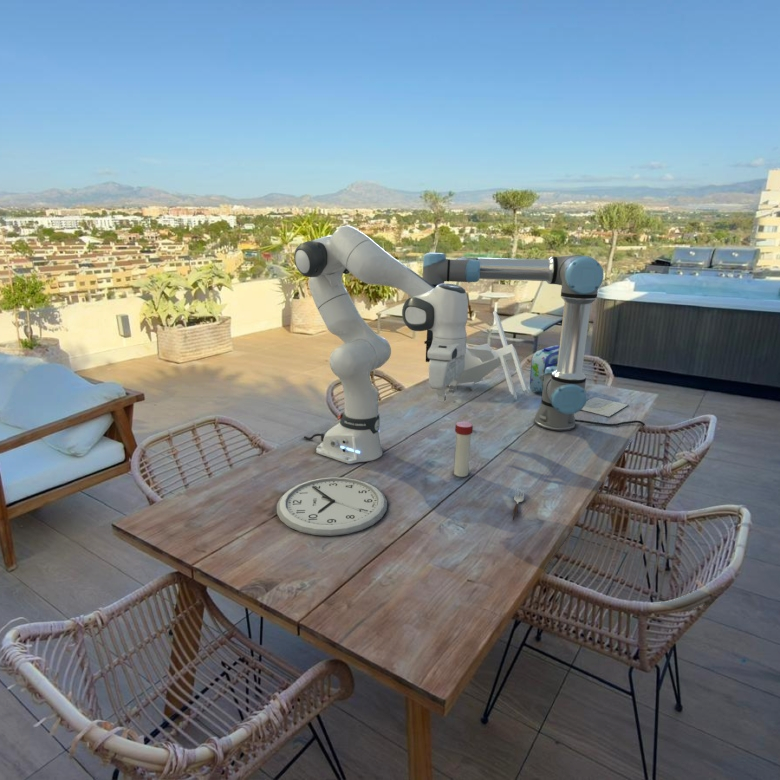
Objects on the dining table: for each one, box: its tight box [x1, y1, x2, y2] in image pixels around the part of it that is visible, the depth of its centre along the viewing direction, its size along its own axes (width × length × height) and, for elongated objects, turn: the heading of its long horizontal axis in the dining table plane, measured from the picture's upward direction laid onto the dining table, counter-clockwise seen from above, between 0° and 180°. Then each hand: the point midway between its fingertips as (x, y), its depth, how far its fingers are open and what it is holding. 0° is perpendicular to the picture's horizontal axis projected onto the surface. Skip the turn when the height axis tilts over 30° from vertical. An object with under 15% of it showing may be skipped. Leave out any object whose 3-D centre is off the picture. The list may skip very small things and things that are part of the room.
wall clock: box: [276, 476, 388, 537], centre depth 142 cm, size 30×2×30 cm
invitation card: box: [580, 396, 629, 418], centre depth 226 cm, size 21×1×15 cm
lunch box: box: [529, 345, 560, 394], centre depth 245 cm, size 26×11×21 cm, turn 134°
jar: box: [453, 432, 472, 478], centre depth 160 cm, size 4×4×16 cm
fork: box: [512, 487, 526, 521], centre depth 143 cm, size 3×16×2 cm, turn 160°
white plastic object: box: [448, 310, 531, 400], centre depth 245 cm, size 37×45×31 cm
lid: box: [454, 420, 474, 435], centre depth 158 cm, size 5×5×2 cm
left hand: (447, 396), depth 142 cm, fingers open, 8 cm apart
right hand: (430, 357), depth 190 cm, fingers open, 13 cm apart
